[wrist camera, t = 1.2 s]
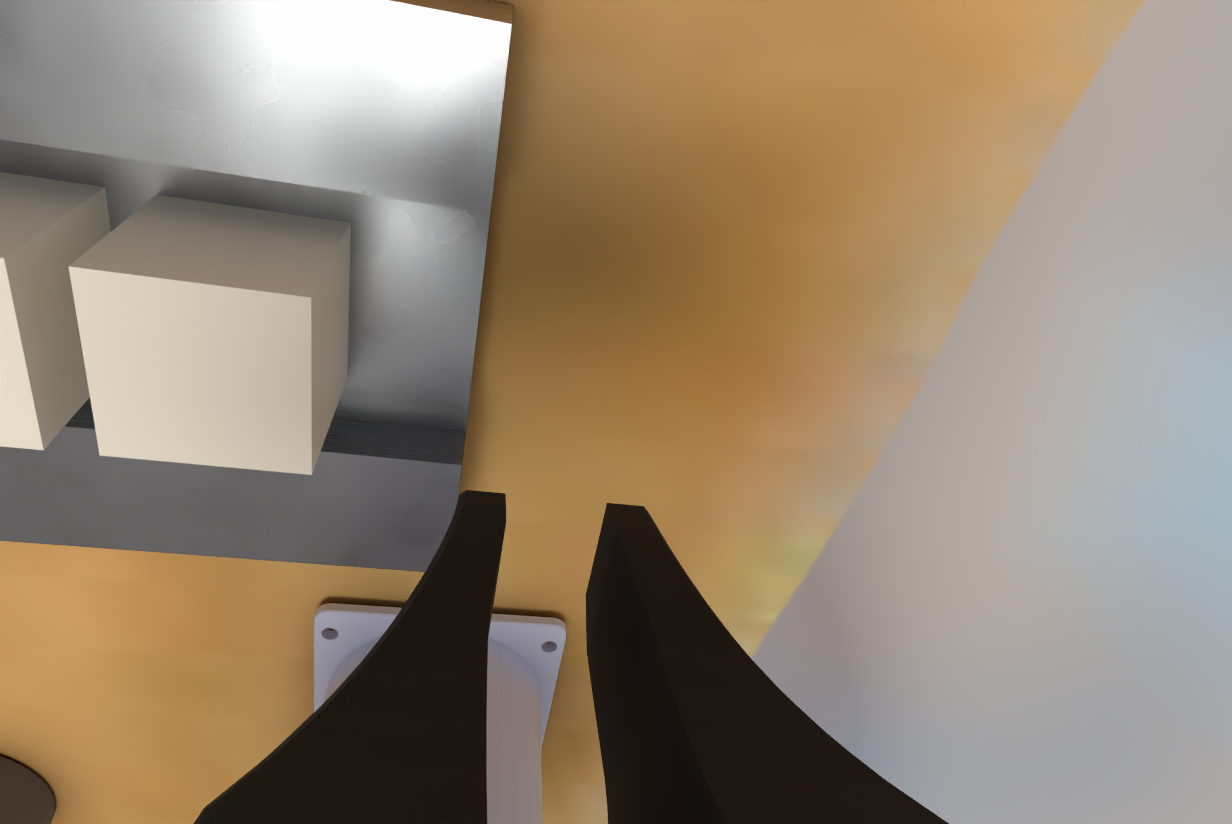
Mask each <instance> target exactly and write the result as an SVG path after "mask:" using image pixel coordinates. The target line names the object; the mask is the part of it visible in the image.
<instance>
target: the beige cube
mask: <svg viewBox="0 0 1232 824" xmlns="http://www.w3.org/2000/svg"><path fill="white" fill-rule="evenodd" d="M110 232H111V226H110V219H109V211H108V204H107V196H106V189H105V187H101V186H94V185H87V184H80V183H74V182H67V181H60V180H53V179H46V178H39V177H32V176H25V175H18V174H12V173H5V172H0V446H2V447H13V448H24V449H35V450H44V449H45V448H46V447H47V446H48V445H49V444H50V442H51V441H52V440H53V439H54V438H55V437H56V435H57V434H58V433H59V432H60V431H61V430H62V429H63V427H64V426H65V425H66V424H67V423H68V422H69V420H70V419H71V418H72V417H73V416H74V415H75V413H76V412H77V411H78V410H79V409H80V408H81V407H82V405H83V404H84V403H85V402H86V401H87V400H88V398H89V397H90V394H89V388H88V382H87V376H86V370H85V364H84V358H83V351H82V345H81V339H80V333H79V327H78V321H77V315H76V309H75V303H74V297H73V291H72V285H71V279H70V273H69V267H68V266H70V265H71V264H72V263H73V262H75V261H76V260H77V259H78V258H79V257H81V256H82V255H83V254H84V253H86V252H87V251H88V250H89V249H90V248H92V247H93V246H94V245H95V244H97V243H98V242H99V241H100V240H101V239H103V238H104V237H105V236H106V235H108V234H109V233H110Z"/></svg>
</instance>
